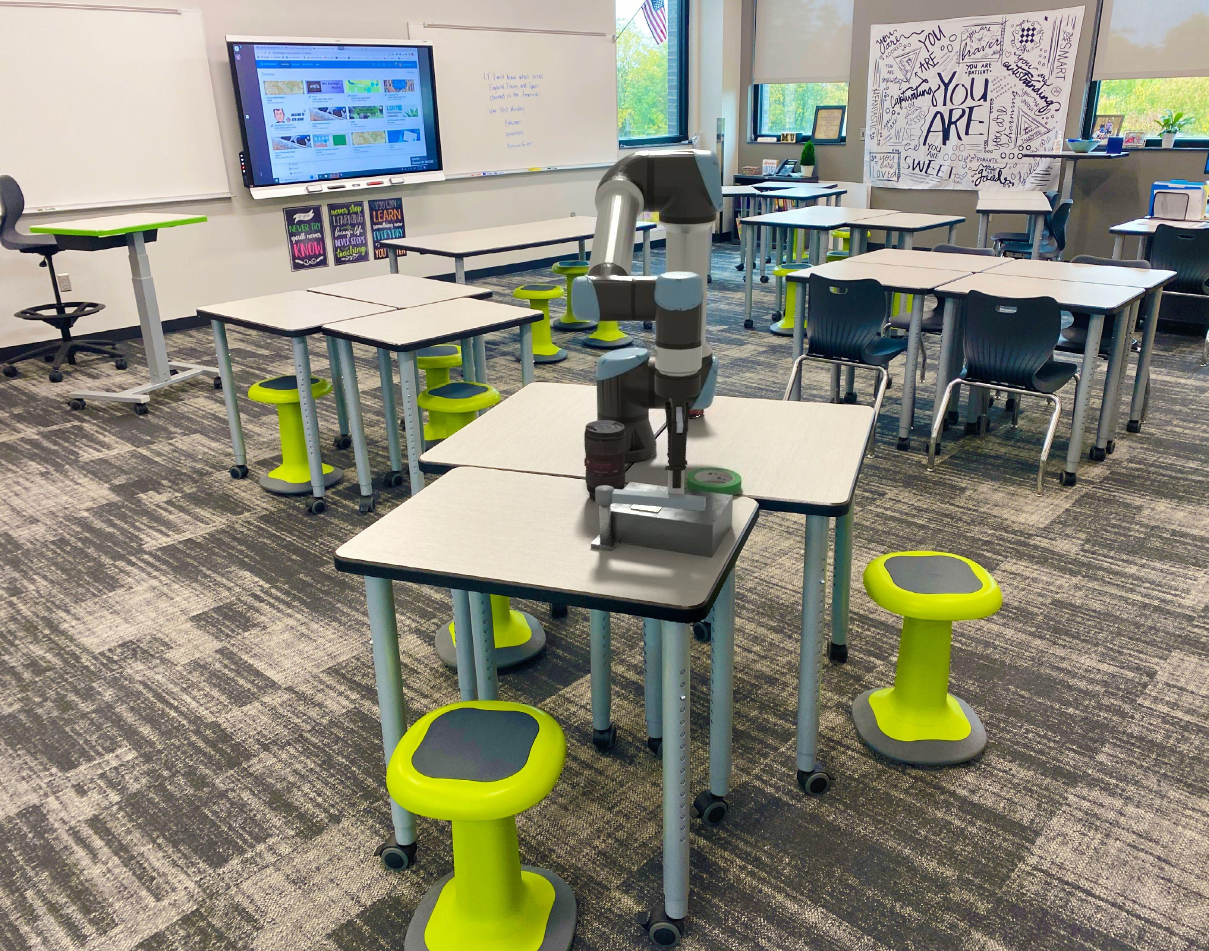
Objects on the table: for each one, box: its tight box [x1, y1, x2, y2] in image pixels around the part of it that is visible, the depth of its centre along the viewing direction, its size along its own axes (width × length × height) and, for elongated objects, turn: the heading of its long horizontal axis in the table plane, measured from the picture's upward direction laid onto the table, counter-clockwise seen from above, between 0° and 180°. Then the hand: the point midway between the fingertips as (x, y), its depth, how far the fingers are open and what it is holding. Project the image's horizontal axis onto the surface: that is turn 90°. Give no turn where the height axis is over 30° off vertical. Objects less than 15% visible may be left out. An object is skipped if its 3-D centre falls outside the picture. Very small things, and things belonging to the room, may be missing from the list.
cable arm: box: [595, 485, 706, 511], centre depth 152 cm, size 19×3×2 cm, turn 75°
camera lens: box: [583, 420, 626, 502], centre depth 175 cm, size 8×8×15 cm
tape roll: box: [686, 466, 742, 496], centre depth 181 cm, size 11×11×3 cm
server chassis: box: [590, 481, 734, 558], centre depth 159 cm, size 21×18×8 cm
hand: (675, 502), depth 153 cm, fingers closed
